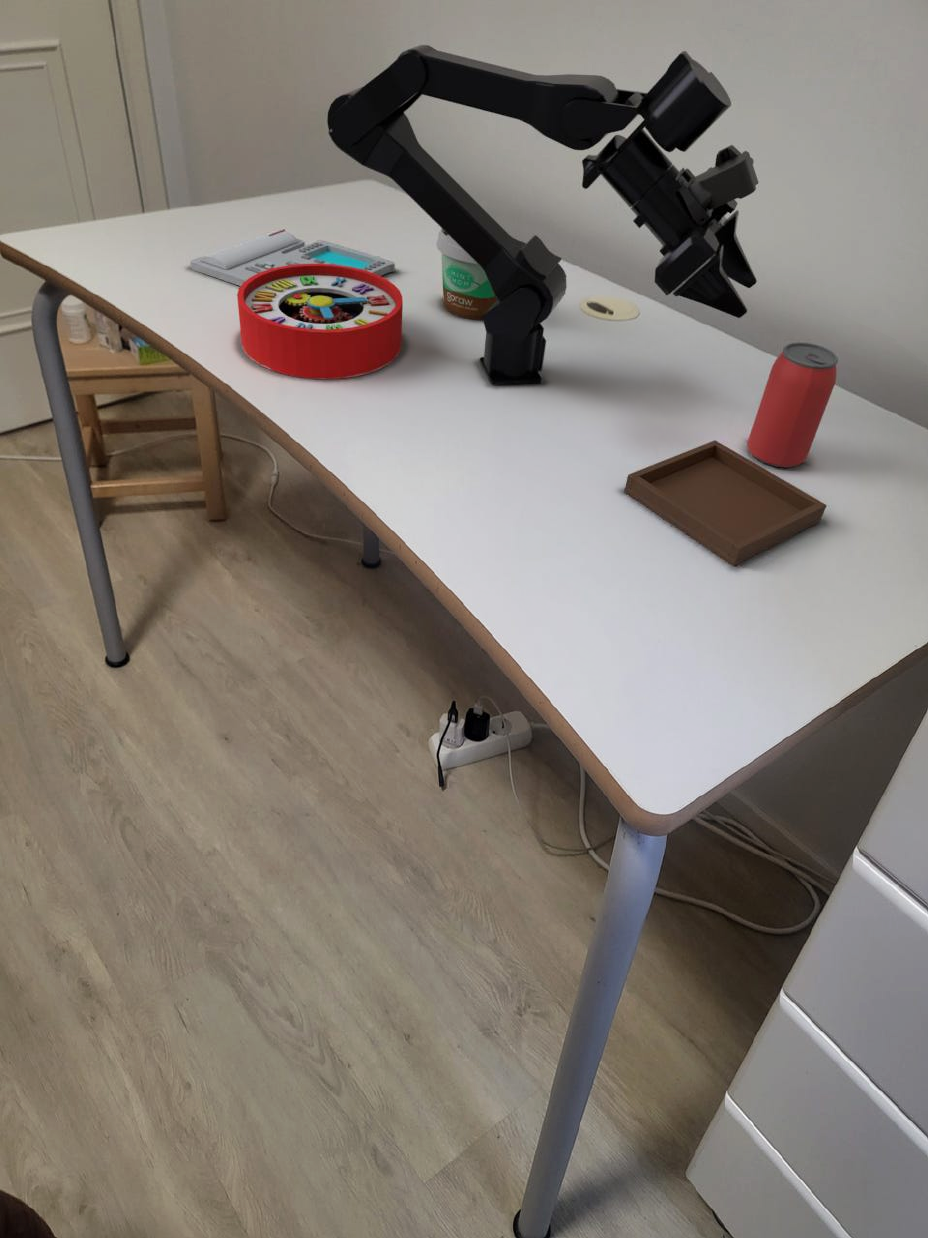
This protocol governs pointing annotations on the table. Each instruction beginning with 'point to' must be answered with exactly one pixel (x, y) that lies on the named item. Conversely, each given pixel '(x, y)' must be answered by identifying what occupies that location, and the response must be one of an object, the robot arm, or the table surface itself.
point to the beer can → (793, 404)
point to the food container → (463, 281)
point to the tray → (724, 501)
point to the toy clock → (320, 320)
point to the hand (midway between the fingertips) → (748, 299)
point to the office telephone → (283, 257)
